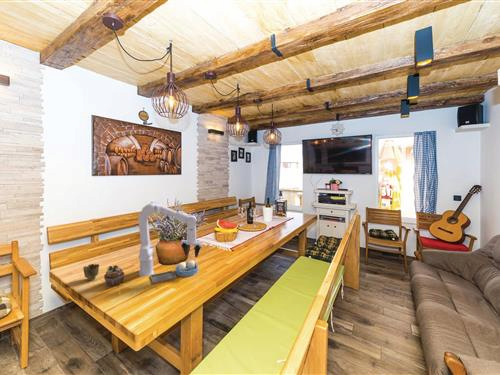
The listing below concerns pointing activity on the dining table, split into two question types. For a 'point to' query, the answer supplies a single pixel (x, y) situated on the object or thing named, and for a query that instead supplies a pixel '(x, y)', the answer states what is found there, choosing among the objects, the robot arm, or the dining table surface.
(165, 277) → the tray
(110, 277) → the cupcake
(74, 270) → the dining table surface
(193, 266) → the cylinder
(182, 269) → the white rounded capsule
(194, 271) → the bowl
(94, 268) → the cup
